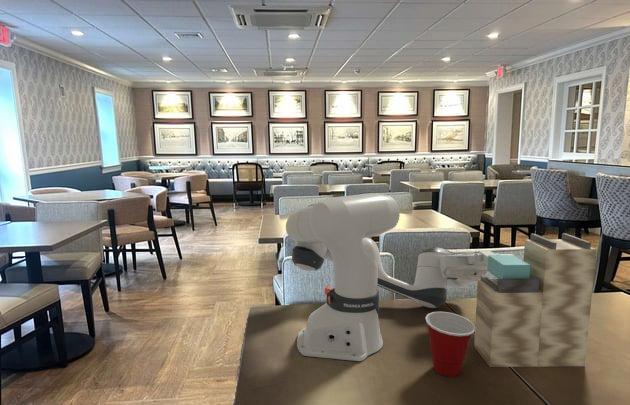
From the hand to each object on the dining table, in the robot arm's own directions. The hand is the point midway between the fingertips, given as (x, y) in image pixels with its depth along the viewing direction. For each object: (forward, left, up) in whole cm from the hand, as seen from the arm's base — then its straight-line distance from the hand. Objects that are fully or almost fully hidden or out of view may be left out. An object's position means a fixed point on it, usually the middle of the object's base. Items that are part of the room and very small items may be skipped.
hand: (488, 256), depth 102 cm
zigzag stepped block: (+6, -11, -22) cm, 25 cm away
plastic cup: (-15, -17, -22) cm, 32 cm away
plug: (0, -6, -2) cm, 6 cm away
